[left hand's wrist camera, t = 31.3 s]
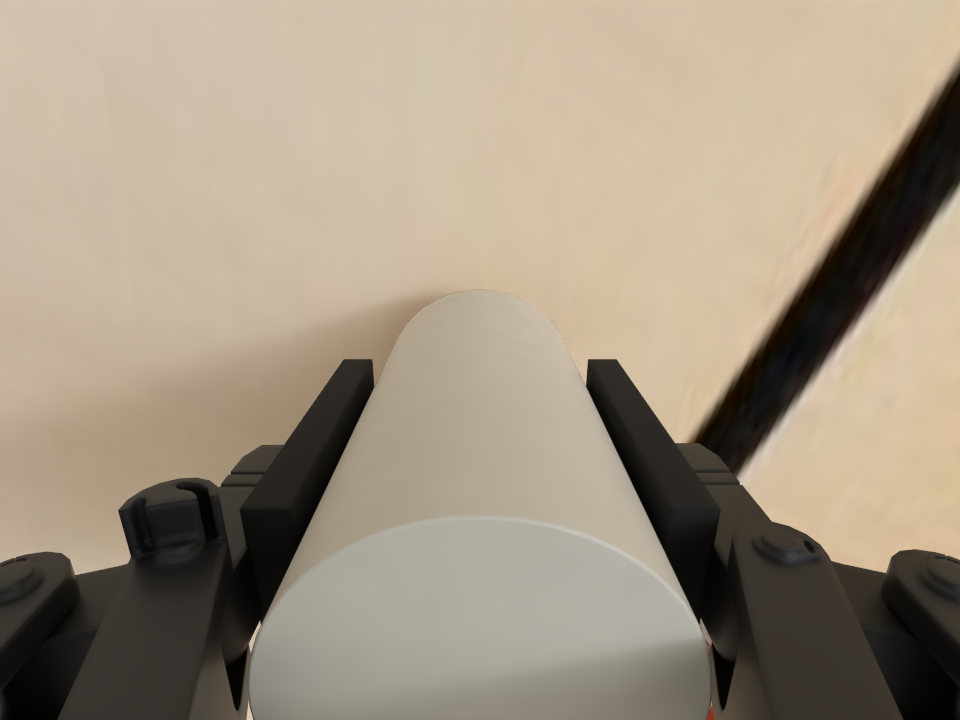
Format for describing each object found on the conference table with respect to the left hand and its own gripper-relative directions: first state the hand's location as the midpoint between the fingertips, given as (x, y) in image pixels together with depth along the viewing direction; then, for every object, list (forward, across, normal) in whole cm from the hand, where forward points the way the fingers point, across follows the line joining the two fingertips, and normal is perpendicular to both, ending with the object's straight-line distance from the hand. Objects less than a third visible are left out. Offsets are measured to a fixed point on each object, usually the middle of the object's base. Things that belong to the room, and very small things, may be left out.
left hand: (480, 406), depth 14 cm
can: (+2, 0, 0) cm, 2 cm away
